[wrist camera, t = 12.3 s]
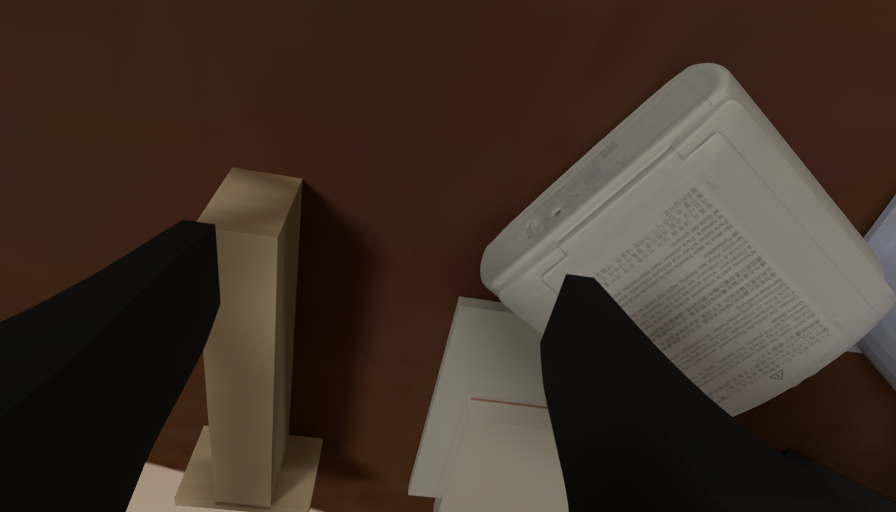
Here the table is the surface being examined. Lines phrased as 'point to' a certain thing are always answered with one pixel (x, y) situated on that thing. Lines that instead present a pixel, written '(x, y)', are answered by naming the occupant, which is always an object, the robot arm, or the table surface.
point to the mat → (476, 380)
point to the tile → (503, 461)
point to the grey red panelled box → (843, 485)
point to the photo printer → (701, 244)
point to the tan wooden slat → (252, 356)
